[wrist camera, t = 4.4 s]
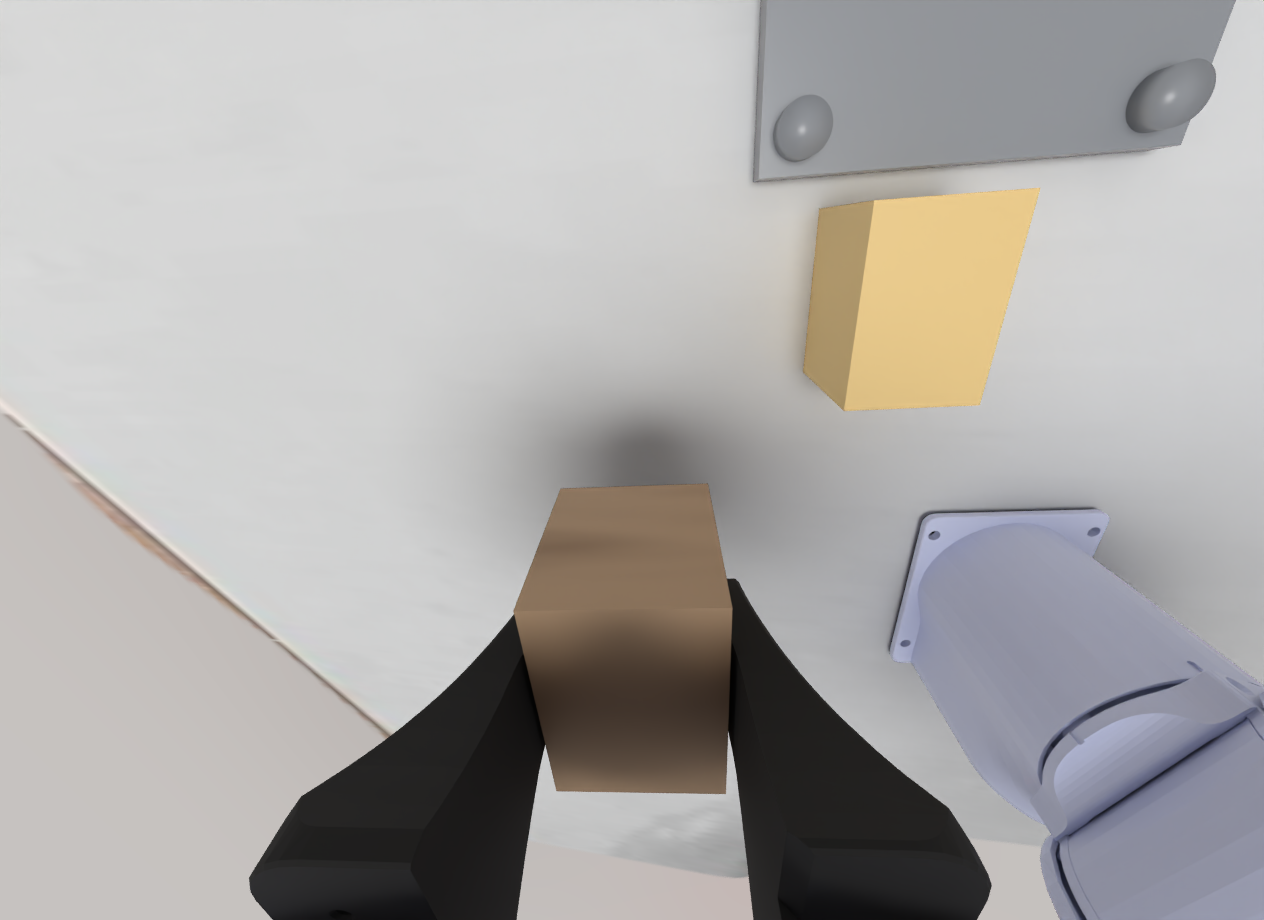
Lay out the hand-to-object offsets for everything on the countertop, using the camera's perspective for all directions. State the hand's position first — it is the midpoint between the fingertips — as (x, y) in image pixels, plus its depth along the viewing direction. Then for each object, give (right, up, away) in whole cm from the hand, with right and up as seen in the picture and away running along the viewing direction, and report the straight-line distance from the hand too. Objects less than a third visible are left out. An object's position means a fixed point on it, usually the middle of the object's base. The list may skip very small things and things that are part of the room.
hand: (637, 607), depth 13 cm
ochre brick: (+9, +11, +5) cm, 15 cm away
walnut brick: (0, +1, +1) cm, 2 cm away
